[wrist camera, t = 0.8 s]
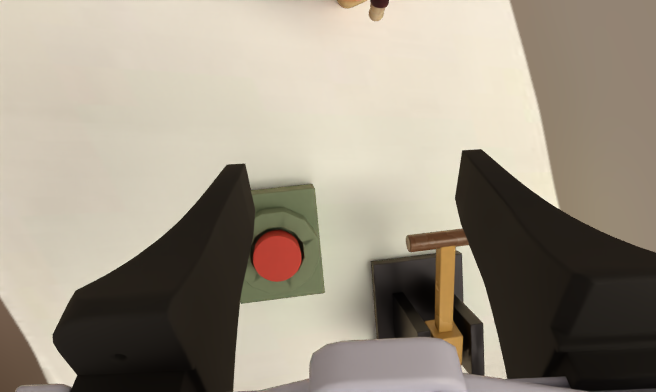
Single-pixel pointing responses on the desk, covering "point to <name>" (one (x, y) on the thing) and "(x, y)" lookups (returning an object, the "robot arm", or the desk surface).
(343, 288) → the desk surface
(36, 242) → the desk surface
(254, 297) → the button block
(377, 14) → the grandmother figurine
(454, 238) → the lever
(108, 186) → the desk surface
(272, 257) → the button
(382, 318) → the bracket
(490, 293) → the robot arm
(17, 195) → the desk surface
